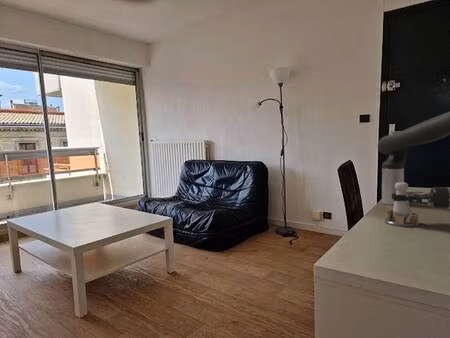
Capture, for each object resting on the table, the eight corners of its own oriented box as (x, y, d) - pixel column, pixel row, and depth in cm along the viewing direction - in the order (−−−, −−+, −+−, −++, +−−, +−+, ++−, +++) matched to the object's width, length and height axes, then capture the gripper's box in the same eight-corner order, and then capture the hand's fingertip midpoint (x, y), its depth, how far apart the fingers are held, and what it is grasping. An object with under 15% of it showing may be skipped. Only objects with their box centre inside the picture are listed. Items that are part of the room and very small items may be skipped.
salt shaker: (412, 216, 112) (412, 182, 111) (409, 219, 108) (408, 184, 107) (395, 214, 116) (395, 181, 115) (391, 217, 112) (390, 183, 111)
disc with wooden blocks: (387, 218, 120) (387, 208, 120) (419, 221, 113) (419, 211, 113) (382, 224, 111) (382, 214, 111) (417, 228, 105) (417, 217, 104)
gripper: (441, 184, 113) (389, 184, 119) (455, 190, 100) (396, 190, 106) (441, 204, 113) (389, 203, 119) (454, 212, 100) (396, 210, 106)
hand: (393, 197), depth 113 cm, fingers closed on salt shaker, 3 cm apart
